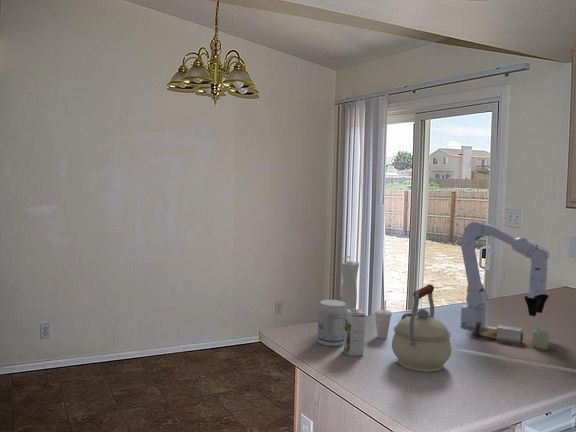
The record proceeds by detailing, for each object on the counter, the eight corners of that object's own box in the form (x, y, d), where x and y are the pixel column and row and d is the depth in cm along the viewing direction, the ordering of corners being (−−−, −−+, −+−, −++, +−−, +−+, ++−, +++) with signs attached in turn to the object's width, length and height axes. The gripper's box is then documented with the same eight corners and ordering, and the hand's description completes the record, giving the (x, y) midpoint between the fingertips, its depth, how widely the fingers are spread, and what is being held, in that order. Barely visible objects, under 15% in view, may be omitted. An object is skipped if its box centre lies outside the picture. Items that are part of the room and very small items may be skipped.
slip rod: (475, 335, 190) (476, 324, 190) (477, 333, 194) (477, 322, 193) (522, 343, 182) (522, 331, 182) (523, 340, 186) (523, 329, 185)
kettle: (439, 381, 146) (444, 297, 144) (380, 367, 155) (384, 288, 154) (460, 358, 167) (464, 284, 165) (406, 347, 176) (410, 277, 175)
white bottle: (335, 322, 206) (338, 255, 205) (355, 323, 206) (358, 256, 204) (337, 328, 198) (340, 258, 196) (357, 329, 197) (360, 259, 196)
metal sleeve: (496, 340, 186) (497, 327, 186) (497, 337, 190) (498, 324, 190) (520, 344, 182) (520, 331, 182) (521, 341, 186) (521, 328, 186)
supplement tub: (313, 339, 182) (315, 299, 181) (337, 338, 185) (339, 298, 184) (324, 348, 173) (325, 306, 172) (348, 346, 176) (350, 305, 175)
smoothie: (390, 340, 184) (392, 303, 184) (373, 338, 186) (374, 301, 185) (390, 335, 191) (392, 299, 190) (373, 333, 192) (375, 298, 191)
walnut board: (469, 341, 187) (469, 338, 187) (474, 333, 198) (474, 331, 198) (550, 354, 174) (550, 352, 174) (551, 346, 185) (551, 343, 185)
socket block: (532, 346, 180) (533, 331, 179) (533, 342, 185) (533, 328, 185) (547, 349, 177) (548, 334, 177) (548, 345, 182) (549, 330, 182)
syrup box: (343, 350, 171) (344, 308, 170) (360, 350, 171) (361, 308, 171) (346, 356, 165) (348, 312, 164) (363, 356, 166) (366, 313, 165)
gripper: (543, 283, 184) (540, 319, 184) (554, 278, 194) (552, 313, 195) (523, 280, 188) (520, 315, 189) (535, 276, 199) (533, 309, 200)
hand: (535, 314), depth 192 cm, fingers open, 7 cm apart
